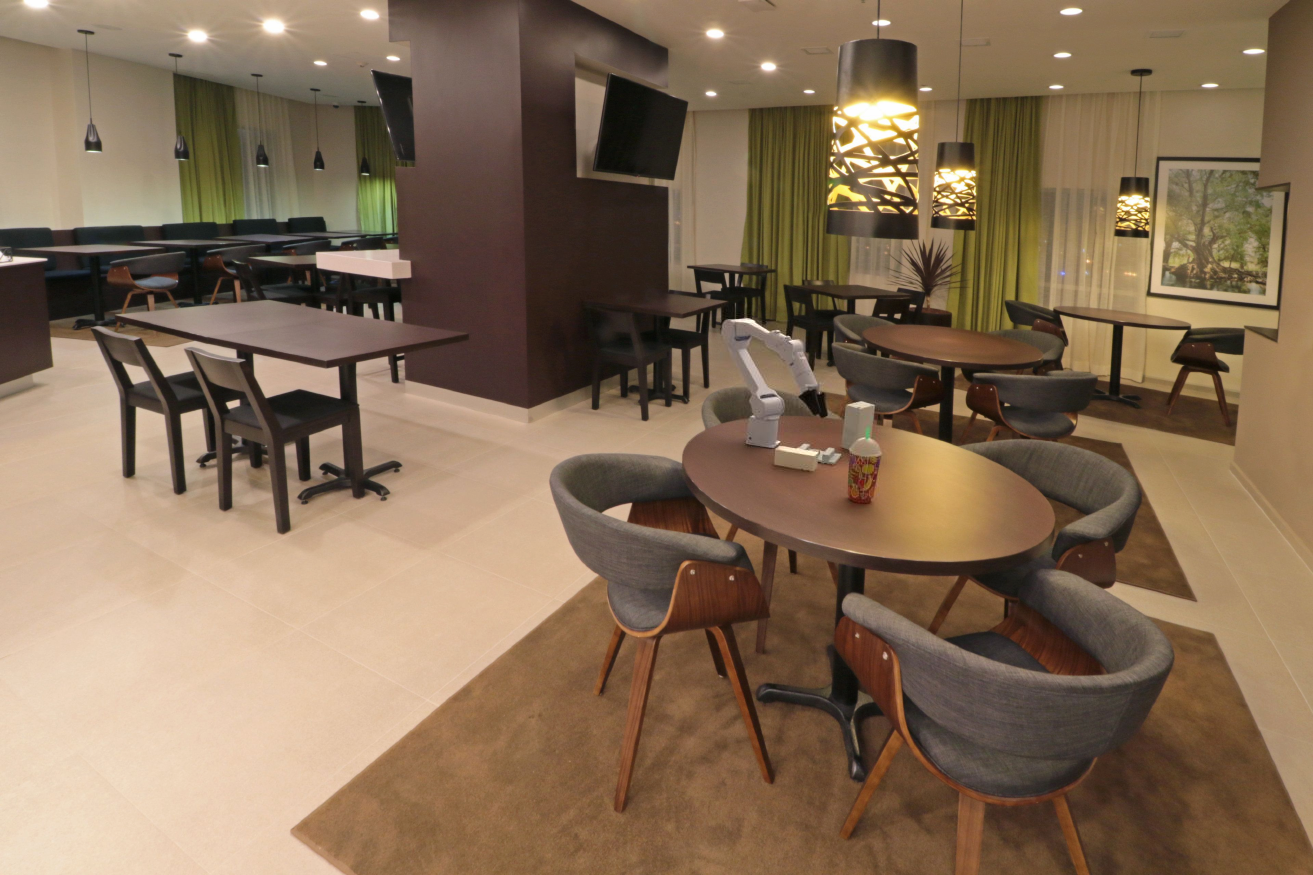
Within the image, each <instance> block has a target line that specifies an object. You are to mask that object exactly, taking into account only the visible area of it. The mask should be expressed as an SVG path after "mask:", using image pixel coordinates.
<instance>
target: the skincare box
mask: <svg viewBox="0 0 1313 875" xmlns="http://www.w3.org/2000/svg"><path fill="white" fill-rule="evenodd" d="M875 408H876V405H875V404H873V403H868V402H866V401H862V400H861V401H857V402H853V403H848V404H846V405H845V412H844V420H843V427H842V428H843V429H842V438H841V446H840V447H841V448H842V449H845V450H848V451H849V449H850V448H851V447H852V445H853V443H854V442H855V441H857V440H858V439H860V438H865V437H866V433H867V428H870V429H869V438H871V439H872V434H873V427H874V426H873V424H874V418H875Z"/></svg>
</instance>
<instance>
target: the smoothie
mask: <svg viewBox="0 0 1313 875" xmlns="http://www.w3.org/2000/svg"><path fill="white" fill-rule="evenodd" d="M869 429H870V428H867V433H866V437H865V438H860V439H858V440H857V441H855V442H854V443H853V445H852V447H851V448H850V449H849V450H848V451H849V453H848V454H849V455H848V457H849V458H848V472H847V474H848V475H847V476H848V477H847V492H846V493H847V495H848V499H849V500H850V501H851V502H854V503H858V504H868V503H870V502H871V500H872V499H873V498H874V494H875V491H876V487H877V486H876V485H877V484H876V483H877V481H878V480H877V479H878V474H879V469H880V466H881V459H882V455H883V452H882V450H881V447H880V445H879V444H878V442H877V441H876V440H875V439H874V438H872V437H871V438H869Z"/></svg>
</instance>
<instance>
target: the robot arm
mask: <svg viewBox="0 0 1313 875" xmlns="http://www.w3.org/2000/svg"><path fill="white" fill-rule="evenodd" d="M720 335H721V337H722V338H723V340H724V342H725V344H726V346H727V350H728V351H727V352H728V353H729V356H730V357H731V359H732V360H733V363H734V364H735V366H736V368H737V369H738V372H739V373H740V375H741V377H742V378H743V380H744V382H745V384H746V386H747V388H748V389H749V391H750V393H751V397H750V398H749V401H748V402H749V404H750V406H751V412H752V414H753V415H751V416H749V418H748V423H747V431H746V442H745V444H746V445H750V446H756V447H757V446H758V447H763V448H769V449H774V448H776V447H777V446H778V445H779V444H781V441H780V440H778V439H777V438H778V427H779V419H780V418H781V415H783V413H784V412H785V407H786V405H785V401H784V399H783V398H782V397H781V396H780V395H778V393H777V391H776V390H774V389H772V388H770V387H768V386H767V384H766V382H765V381H764V380H765V379H764V378H763V376H762V375H761V373H760V371H759V370H758V368H757V366H756V364H755V363H754V360H753V359H752V357H751V355H750V353H749V352H748V350H747V347H749V345H750V342H751V340H752V338H753V337H754V338H756V339H758V340H760V341H762V342H764V345H765V347H766V348H768V349H770V350H772V351H774V352H776V353H777V354H778V356H779V358H780V359H781V360H783V361H784V362H785V363H786V364H785V365H787V366H788V368H789V370H790V372H791V374H792V377H793V380H794V381H795V383H796V386H797V387H798V391H799V395H798V396H797V397H798V399H800V400H801V401H802V402H803V404H804V405H806V407H807V408H808V410H809V411H810V413H811V414H812V415H813V417H814V416H817V415H818V416H819V418H821V419H824V418H826V417H828V416H829V414H828V413H829V412H828V409H827V403H826V401H827V399H826V398H827V393H826V392H825V391H824V392H821V391H820V387H821V386H823V384H822V382H820V381H819V382H817V379H816V377H815V375H814V373H813V371H812V368H811V366H810V364H809V362H808V360H807V357H806V355H805V353H806V345H805V343H804V342H803V341H802V340H801V339H800V338H797V339H796V338H795V339H792V338H791V336H789V335H784V334H783V333H782V332H781V330H778V329H776V330H771V331H770V330H768V329H766V328H765V327H762V326H761V325H760V324H758V323H757V322H756V320H754V319H751V318H750V317H749V318H748V317H746V318H739V319H737V318H736V319H725V320H724V321H723V322H722V325H721V332H720Z"/></svg>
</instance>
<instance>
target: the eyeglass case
mask: <svg viewBox="0 0 1313 875" xmlns="http://www.w3.org/2000/svg"><path fill="white" fill-rule="evenodd" d="M774 450H775V451H774V461H773V465H774V466H775V465H776V466H781V467H785V468H791V469H796V470H801V469H803V471H807V470H809V471H808V472H812V471H813V472H815V470H816V469H817V468H818V464H819V463H818V453H819V452H814V451H808V450H802V449H797V448H794V447H789V446H785V445H779V446H778V447H777V448H775V449H774Z"/></svg>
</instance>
